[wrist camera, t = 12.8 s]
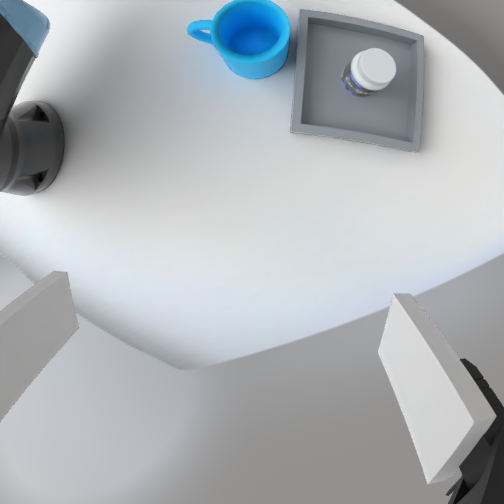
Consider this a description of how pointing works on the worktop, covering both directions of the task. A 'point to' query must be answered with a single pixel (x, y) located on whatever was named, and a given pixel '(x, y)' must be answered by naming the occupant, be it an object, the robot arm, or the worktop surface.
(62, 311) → the robot arm
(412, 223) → the worktop surface
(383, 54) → the pill bottle
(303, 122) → the tray
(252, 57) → the mug
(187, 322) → the worktop surface
